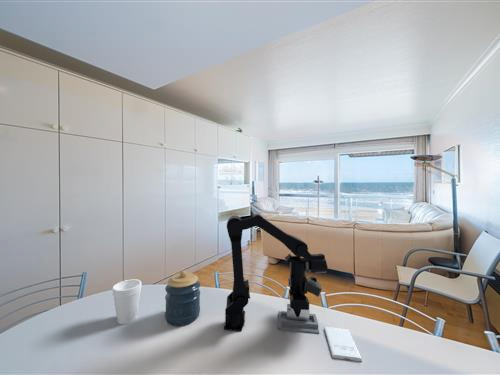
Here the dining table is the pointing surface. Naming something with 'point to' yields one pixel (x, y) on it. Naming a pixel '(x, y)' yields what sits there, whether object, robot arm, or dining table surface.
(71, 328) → the dining table surface
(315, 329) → the dock
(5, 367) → the dining table surface
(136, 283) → the foam cup
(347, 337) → the external hard drive
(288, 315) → the block
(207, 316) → the dining table surface
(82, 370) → the dining table surface
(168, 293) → the canister
